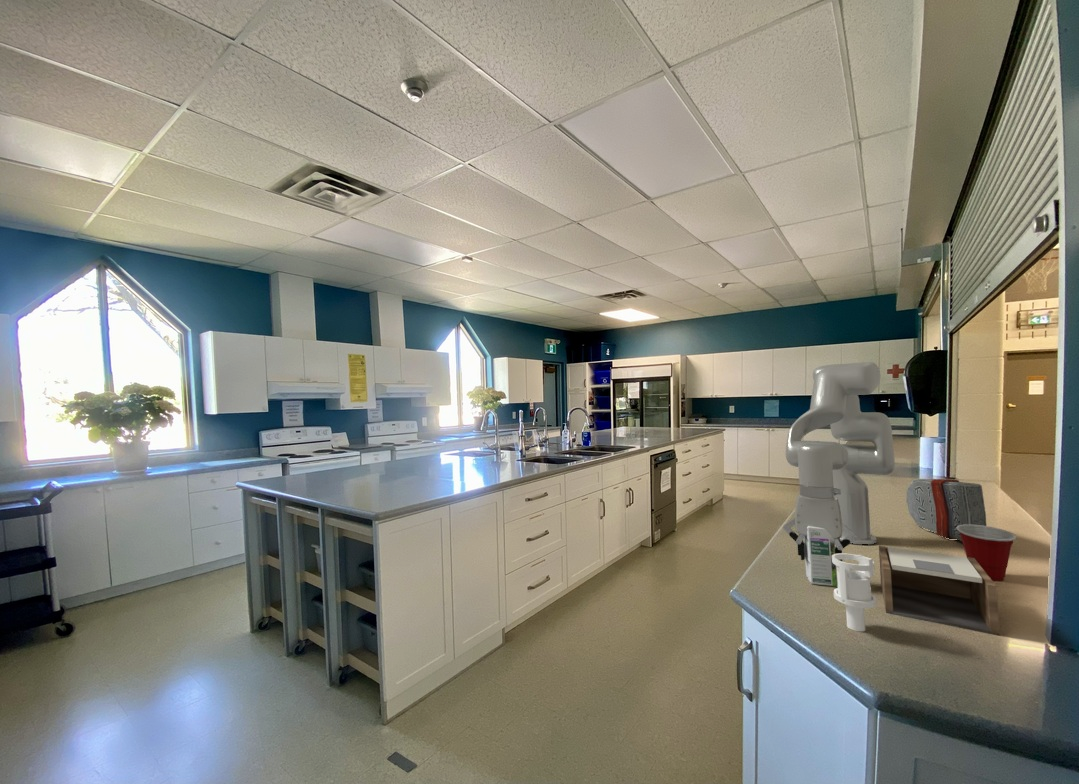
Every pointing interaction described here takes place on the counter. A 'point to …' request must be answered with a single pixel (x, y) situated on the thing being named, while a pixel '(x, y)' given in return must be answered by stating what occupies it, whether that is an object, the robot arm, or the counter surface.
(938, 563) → the trapdoor
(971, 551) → the plastic cup
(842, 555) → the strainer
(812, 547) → the syrup box
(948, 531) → the decorative stone tablet
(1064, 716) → the counter surface
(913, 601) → the trapdoor frame
